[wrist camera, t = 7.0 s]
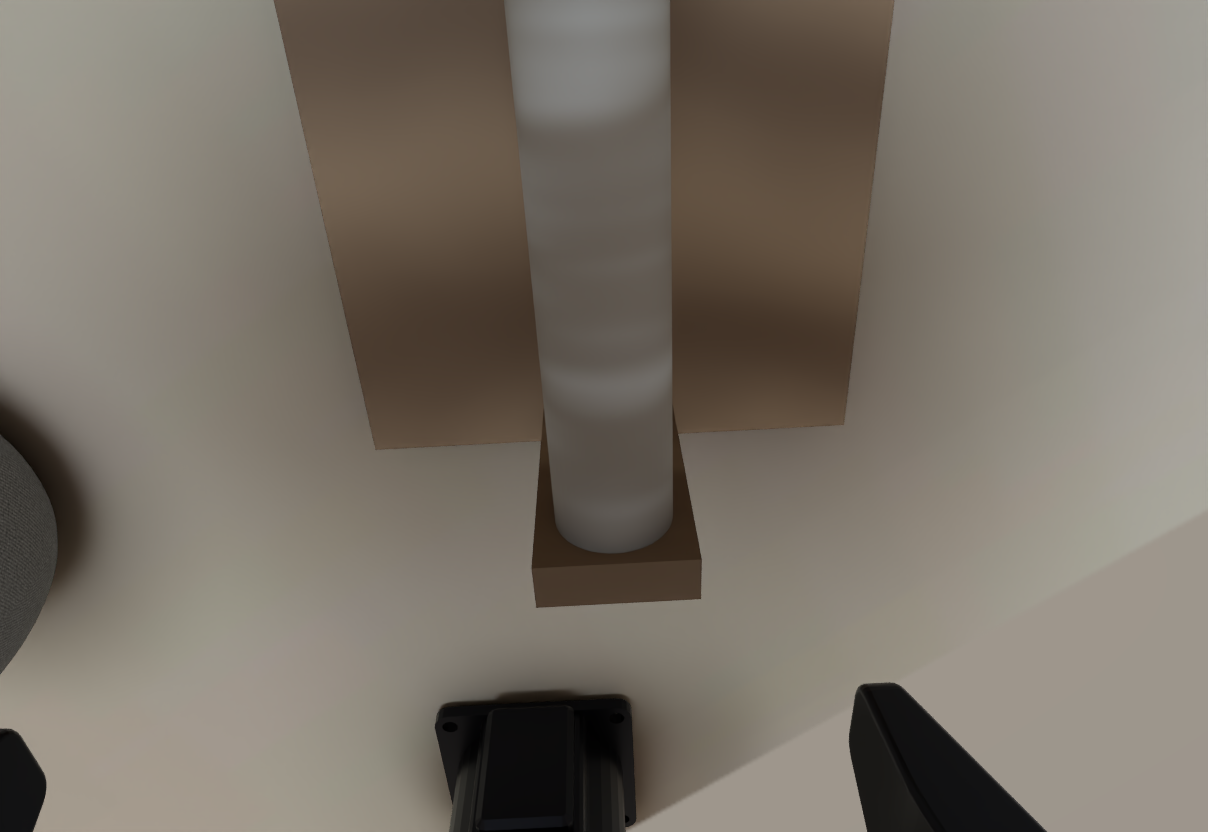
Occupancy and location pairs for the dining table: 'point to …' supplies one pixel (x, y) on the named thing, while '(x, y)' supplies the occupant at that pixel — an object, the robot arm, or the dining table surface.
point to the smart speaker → (23, 550)
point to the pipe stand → (595, 239)
